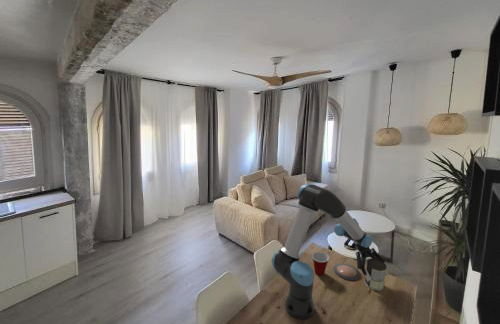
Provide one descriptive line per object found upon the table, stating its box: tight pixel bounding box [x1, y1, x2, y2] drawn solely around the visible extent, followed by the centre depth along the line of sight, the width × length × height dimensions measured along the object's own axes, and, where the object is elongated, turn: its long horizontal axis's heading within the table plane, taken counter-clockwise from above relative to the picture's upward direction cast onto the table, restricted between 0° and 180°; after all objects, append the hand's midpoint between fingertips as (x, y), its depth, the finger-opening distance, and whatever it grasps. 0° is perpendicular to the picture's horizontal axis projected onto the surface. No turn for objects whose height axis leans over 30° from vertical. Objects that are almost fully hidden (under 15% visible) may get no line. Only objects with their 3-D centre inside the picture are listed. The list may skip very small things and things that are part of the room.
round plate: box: [333, 262, 361, 281], centre depth 154 cm, size 16×16×1 cm
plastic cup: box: [311, 251, 330, 276], centre depth 152 cm, size 11×11×12 cm
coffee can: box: [364, 258, 388, 291], centre depth 142 cm, size 10×10×14 cm
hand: (378, 278), depth 140 cm, fingers open, 13 cm apart
